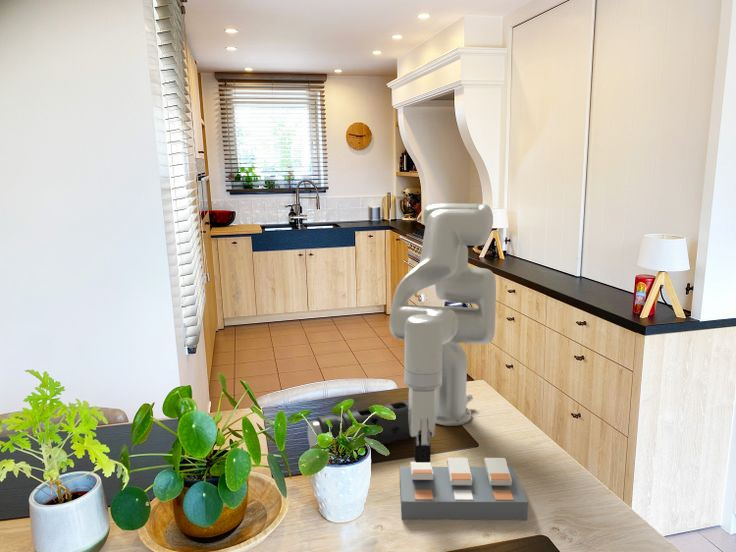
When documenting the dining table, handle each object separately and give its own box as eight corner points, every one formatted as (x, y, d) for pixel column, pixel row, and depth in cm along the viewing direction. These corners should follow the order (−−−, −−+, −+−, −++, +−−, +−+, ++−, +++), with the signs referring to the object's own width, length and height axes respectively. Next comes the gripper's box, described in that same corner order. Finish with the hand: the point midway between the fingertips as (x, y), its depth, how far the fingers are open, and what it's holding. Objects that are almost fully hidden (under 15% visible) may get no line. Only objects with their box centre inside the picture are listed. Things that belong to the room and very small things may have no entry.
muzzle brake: (424, 445, 142) (424, 407, 140) (319, 469, 131) (317, 428, 129) (407, 429, 151) (407, 393, 149) (307, 451, 140) (305, 412, 138)
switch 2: (446, 466, 123) (447, 457, 122) (466, 466, 123) (467, 457, 122) (450, 489, 116) (450, 479, 115) (471, 489, 116) (472, 480, 115)
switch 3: (483, 466, 122) (484, 457, 122) (504, 466, 122) (505, 457, 121) (489, 489, 116) (490, 480, 115) (511, 490, 116) (512, 480, 115)
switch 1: (410, 472, 123) (410, 461, 123) (430, 472, 123) (430, 461, 123) (412, 485, 116) (411, 473, 116) (433, 485, 116) (433, 473, 116)
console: (399, 482, 125) (399, 465, 124) (512, 483, 125) (513, 466, 124) (401, 519, 113) (401, 500, 112) (527, 520, 112) (528, 501, 111)
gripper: (403, 363, 120) (402, 442, 124) (405, 391, 105) (405, 480, 109) (438, 363, 120) (437, 443, 123) (446, 391, 105) (444, 480, 109)
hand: (422, 460), depth 116 cm, fingers closed
